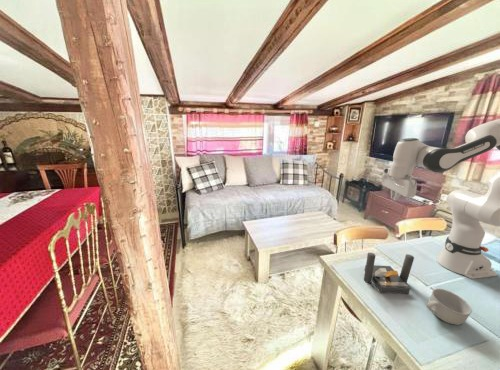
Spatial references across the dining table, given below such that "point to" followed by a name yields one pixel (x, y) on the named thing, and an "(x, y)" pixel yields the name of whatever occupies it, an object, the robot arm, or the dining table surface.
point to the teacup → (449, 306)
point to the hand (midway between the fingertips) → (394, 199)
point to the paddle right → (380, 272)
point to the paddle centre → (391, 274)
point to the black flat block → (389, 282)
